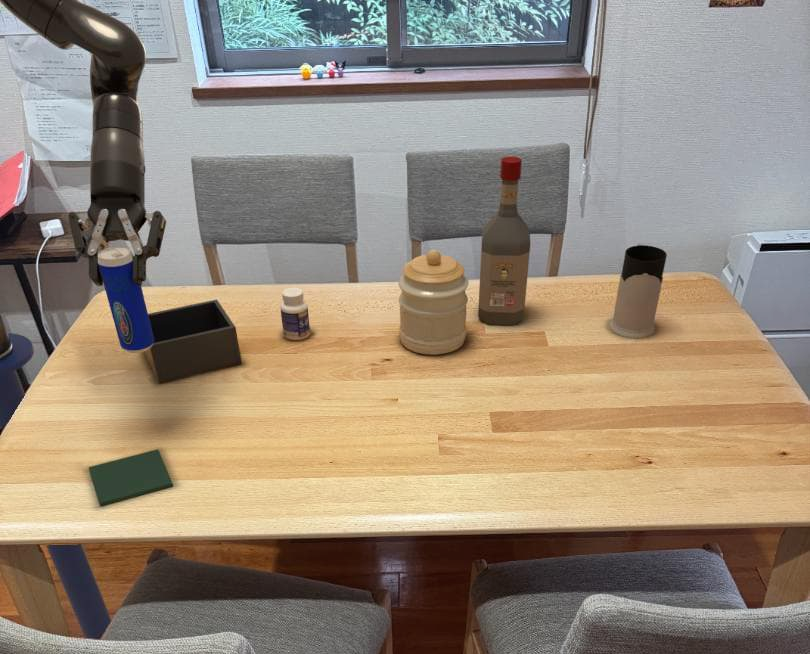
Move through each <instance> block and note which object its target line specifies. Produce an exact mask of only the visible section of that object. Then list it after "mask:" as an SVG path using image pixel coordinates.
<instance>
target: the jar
mask: <svg viewBox="0 0 810 654" xmlns="http://www.w3.org/2000/svg"><path fill="white" fill-rule="evenodd" d="M402 273H403V274H402V275H401V276H400V278H399V279H398V283H397V284H398V287H399V289H400V290H401V293H400V295H399V296H398V303H399V329H398V330H399V332H398V333H399V338H400V342H401V344H402V345H403V346H404V347H405V348H406V349H407V350H410V351H411V352H414V353H418V354H423V355H443V354H449V353H452V352H454V351H456V350H458V349H459V348H461V347H462V346H463V344H464V343H465V340H466V337H467V330H468V329H467V306H468V302H469V297H468V295H467V293H466V290H467V288H468V287H469V279H468V277H467V276H466V275H465V266H464V265H463V264H462V263H461V262H459V261H458V260H455V259H454V258H453V257H452V256H449V255H446V254H441V253H440V252H439V251H438V250H436V249H432V250H429V251H428V253H427V254H422V255H419V256H416V257H414V258H413V259H412V260H410V261H408V262H407V263H406V264H404V266H403V267H402Z"/></svg>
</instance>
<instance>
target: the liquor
mask: <svg viewBox="0 0 810 654" xmlns="http://www.w3.org/2000/svg"><path fill="white" fill-rule="evenodd" d="M500 161H501V162H500V170H499V171H500V172H499V178H500V179H501V186H500V187H501V188H500V201H499V206H498V211H497V213H496V214H495V215H494V216H493V217H492V218H491V219H490V220H489V221H488V222H487V223H486V224H485V225H484V227H483V229H482V232H481V247H480V249H481V251H480V266H479V267H480V268H479V270H480V271H479V286H478V287H479V289H478V307H477V309H478V311H477V312H478V313H477V317H478V319H479V321H481V322H483V323H485V324H486V325H494V326H495V325H496V326H497V325H498V326H499V325H500V326H514V325H517V324H518V323H520V322H522V321H523V320H524V318H525V309H526V307H525V306H526V298H527V297H526V296H527V287H528V275H529V263H530V252H531V232H530V228H529V226H528V224H527V223H526V221H525V220H524V219H523V218H522V217H521V215H520V214H519V212H518V205H517V204H518V190H519V189H518V188H519V180H520V179H521V176H522V161H523V160H522V158H521V157H518V156H505V157H502V158H501V159H500Z"/></svg>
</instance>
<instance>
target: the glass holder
mask: <svg viewBox="0 0 810 654" xmlns="http://www.w3.org/2000/svg"><path fill="white" fill-rule="evenodd" d="M667 256H668V254H667V252H666V251H665V250H664V249H662V248H660V247H657V246H654V245H653V246H652V245H646V244H645V245H644V243H643V242H638V244H637V245H633V246H630V247H628V248H627V249H626V250H625V253H624V258H623V265H622V271H621V274H620V276H619V281H618V287H617V292H616V293H617V295H616V299H615V305H614V310H613V316H612V320H611V321H610V323H609V329H610V330H611V332H613V333H614V334H616V335H618V336H621V337H624V338H628V339H629V338H630V339H643V338H647V337H649V336H651V335H653V334H654V333H655V330H656V328H655V318H656V315H657V314H656V313H657V309H658V304H659V299H660V295H661V289H662V284H663V280H664V276H663V275H664V270H665V267H666V261H667Z"/></svg>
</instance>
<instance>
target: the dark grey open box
mask: <svg viewBox="0 0 810 654" xmlns="http://www.w3.org/2000/svg"><path fill="white" fill-rule="evenodd" d="M148 316H149V320H150V324H151V329H152V333H153V337H154V343H153V345H152V347H151V348H150V349H148V350H146V351H144V353H143V354H144V355H145V357H146V359H147V361H148V363H149V366H150V367H151V369H152V370H151V371H152V372H153V375H154V376H155V378H156V381H157V383H158V384H163V383H167V382H171V381H177V380H180V379H184V378H188V377H194V376H196V375H197V376H198V375H201V374H205V373H210V372H214V371H219V370H223V369H227V368H230V367H231V368H232V367H235V366H240V365H242V364H243V363H242V356H241V351H240V345H239V339H238V333H237V327H236V325H235V324H234V323H233V321H232V319H231V318H230V316H229V315H228V313H227V311H226V310H225V309H224V308H223V305H222V304H221V303H220V301H219V300H218V299H213V300H207V301H202V302H198V303H197V302H196V303H193V304H188V305H184V306H178V307H173V308H169V309H164V310H159V311H155V312H148Z"/></svg>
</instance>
